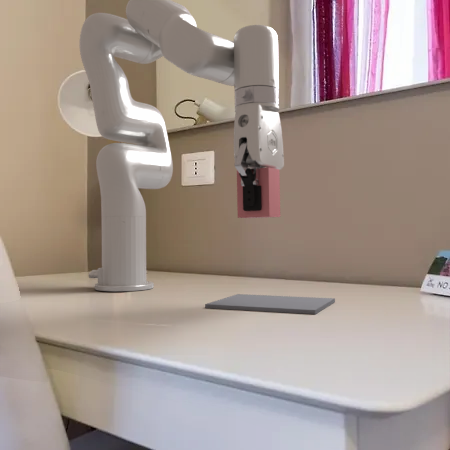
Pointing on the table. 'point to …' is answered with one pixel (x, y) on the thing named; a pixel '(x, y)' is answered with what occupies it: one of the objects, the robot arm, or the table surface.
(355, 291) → the table surface
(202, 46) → the robot arm
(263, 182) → the pink rectangular block
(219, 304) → the mat
